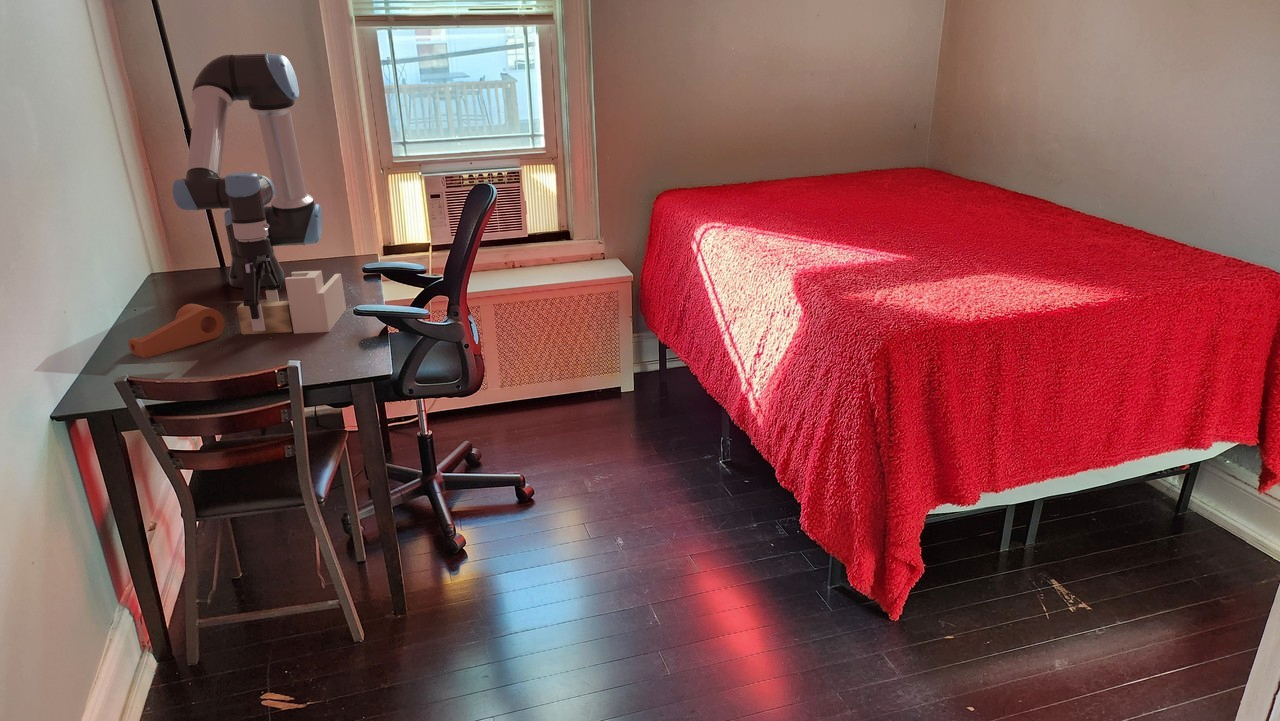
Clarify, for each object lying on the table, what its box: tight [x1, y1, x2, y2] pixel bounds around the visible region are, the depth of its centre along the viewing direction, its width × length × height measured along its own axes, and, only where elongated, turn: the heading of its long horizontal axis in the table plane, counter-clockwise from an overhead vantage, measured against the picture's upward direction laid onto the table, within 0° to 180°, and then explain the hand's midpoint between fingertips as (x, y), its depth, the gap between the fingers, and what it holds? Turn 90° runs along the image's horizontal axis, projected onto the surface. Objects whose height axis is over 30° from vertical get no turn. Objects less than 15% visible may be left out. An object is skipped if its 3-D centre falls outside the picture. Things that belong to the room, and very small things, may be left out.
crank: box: [128, 303, 225, 359], centre depth 201 cm, size 20×8×8 cm, turn 145°
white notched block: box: [284, 270, 347, 335], centre depth 215 cm, size 8×20×14 cm, turn 6°
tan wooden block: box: [236, 300, 294, 335], centre depth 209 cm, size 15×4×7 cm, turn 96°
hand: (267, 322), depth 210 cm, fingers open, 13 cm apart
